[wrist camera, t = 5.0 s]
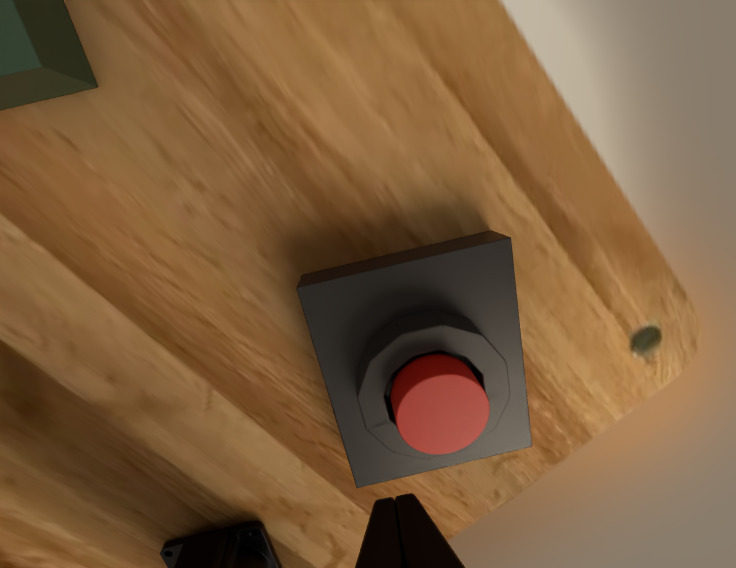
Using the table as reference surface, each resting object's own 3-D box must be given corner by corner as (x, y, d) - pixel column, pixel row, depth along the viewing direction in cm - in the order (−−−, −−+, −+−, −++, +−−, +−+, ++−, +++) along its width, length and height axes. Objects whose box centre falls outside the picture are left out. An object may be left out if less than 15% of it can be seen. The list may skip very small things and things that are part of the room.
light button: (480, 416, 17) (495, 443, 15) (399, 436, 17) (405, 464, 15) (469, 344, 16) (484, 363, 14) (382, 364, 16) (387, 386, 14)
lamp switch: (514, 420, 22) (550, 472, 18) (355, 458, 22) (358, 518, 18) (491, 229, 18) (531, 244, 14) (301, 274, 18) (290, 301, 14)
